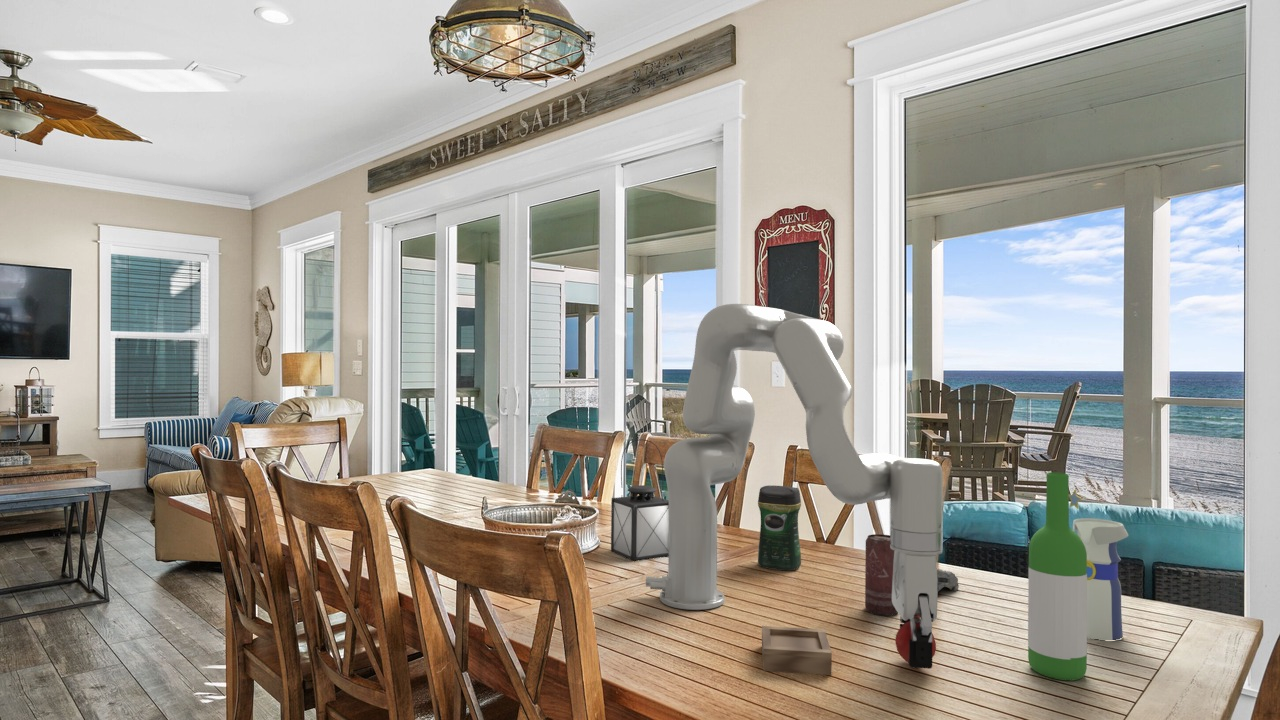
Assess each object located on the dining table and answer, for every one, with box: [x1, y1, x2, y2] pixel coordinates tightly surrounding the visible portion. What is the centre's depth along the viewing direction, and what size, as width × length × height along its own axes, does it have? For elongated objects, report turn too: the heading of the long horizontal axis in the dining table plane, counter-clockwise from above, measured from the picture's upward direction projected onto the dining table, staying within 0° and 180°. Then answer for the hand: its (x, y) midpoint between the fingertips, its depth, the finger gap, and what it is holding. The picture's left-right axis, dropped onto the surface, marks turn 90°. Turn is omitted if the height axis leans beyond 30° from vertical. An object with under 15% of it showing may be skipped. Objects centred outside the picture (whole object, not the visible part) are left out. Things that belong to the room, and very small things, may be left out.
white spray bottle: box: [1069, 489, 1129, 641], centre depth 129 cm, size 8×9×25 cm
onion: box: [894, 616, 937, 669], centre depth 113 cm, size 6×6×8 cm
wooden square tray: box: [761, 625, 833, 676], centre depth 116 cm, size 10×10×3 cm
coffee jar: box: [757, 485, 802, 571], centre depth 171 cm, size 10×8×19 cm
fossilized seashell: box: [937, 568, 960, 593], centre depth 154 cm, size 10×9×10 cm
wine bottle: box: [1027, 471, 1088, 681], centre depth 112 cm, size 8×8×30 cm
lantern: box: [610, 439, 669, 562], centre depth 182 cm, size 11×11×28 cm
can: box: [864, 533, 898, 617], centre depth 140 cm, size 6×6×14 cm
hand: (915, 657), depth 113 cm, fingers closed on onion, 5 cm apart
